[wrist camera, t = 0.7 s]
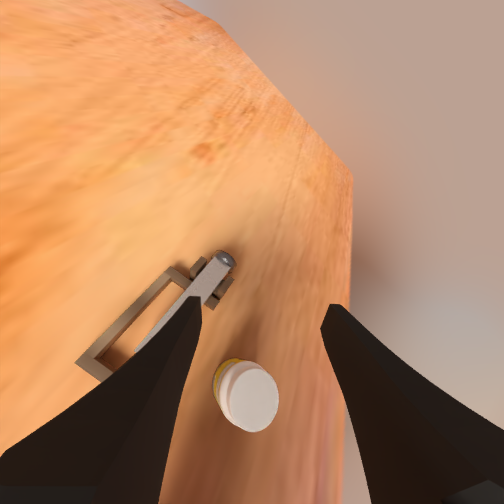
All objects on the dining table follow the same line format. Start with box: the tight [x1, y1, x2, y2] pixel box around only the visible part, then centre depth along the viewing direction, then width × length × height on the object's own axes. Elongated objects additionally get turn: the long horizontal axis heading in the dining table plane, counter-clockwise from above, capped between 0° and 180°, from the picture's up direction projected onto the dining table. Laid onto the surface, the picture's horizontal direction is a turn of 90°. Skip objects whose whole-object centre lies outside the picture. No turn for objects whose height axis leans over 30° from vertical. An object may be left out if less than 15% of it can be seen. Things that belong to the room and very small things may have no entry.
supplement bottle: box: [212, 358, 279, 432], centre depth 18 cm, size 5×5×8 cm
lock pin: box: [134, 250, 236, 353], centre depth 21 cm, size 13×3×3 cm, turn 148°
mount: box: [75, 256, 234, 383], centre depth 21 cm, size 14×8×4 cm, turn 148°
